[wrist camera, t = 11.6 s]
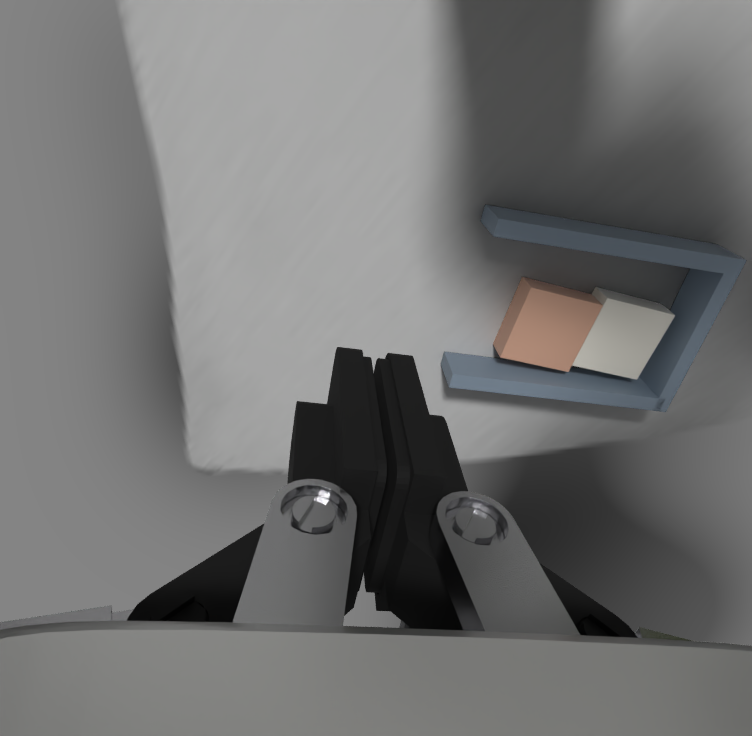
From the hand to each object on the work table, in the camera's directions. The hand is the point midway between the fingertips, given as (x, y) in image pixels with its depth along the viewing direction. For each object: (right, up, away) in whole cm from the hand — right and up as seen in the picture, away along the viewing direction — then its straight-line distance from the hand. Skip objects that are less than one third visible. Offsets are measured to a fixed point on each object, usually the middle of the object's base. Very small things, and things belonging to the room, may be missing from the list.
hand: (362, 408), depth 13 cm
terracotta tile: (+13, +5, +33) cm, 36 cm away
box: (+16, +6, +32) cm, 36 cm away
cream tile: (+19, +4, +34) cm, 39 cm away
